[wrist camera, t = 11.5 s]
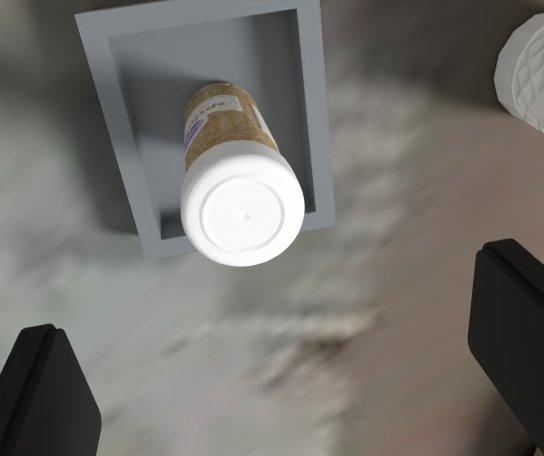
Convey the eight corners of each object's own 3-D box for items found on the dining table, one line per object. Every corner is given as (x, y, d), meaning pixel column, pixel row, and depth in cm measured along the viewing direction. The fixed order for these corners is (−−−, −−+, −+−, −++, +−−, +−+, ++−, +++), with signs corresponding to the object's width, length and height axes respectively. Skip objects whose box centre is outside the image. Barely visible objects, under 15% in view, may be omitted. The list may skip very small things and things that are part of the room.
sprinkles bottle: (192, 71, 28) (196, 141, 16) (268, 93, 29) (324, 172, 17) (175, 146, 30) (167, 259, 18) (247, 164, 31) (285, 280, 19)
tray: (86, 10, 26) (74, 14, 23) (304, -22, 27) (318, -22, 24) (149, 237, 33) (146, 260, 30) (324, 205, 34) (336, 225, 31)
